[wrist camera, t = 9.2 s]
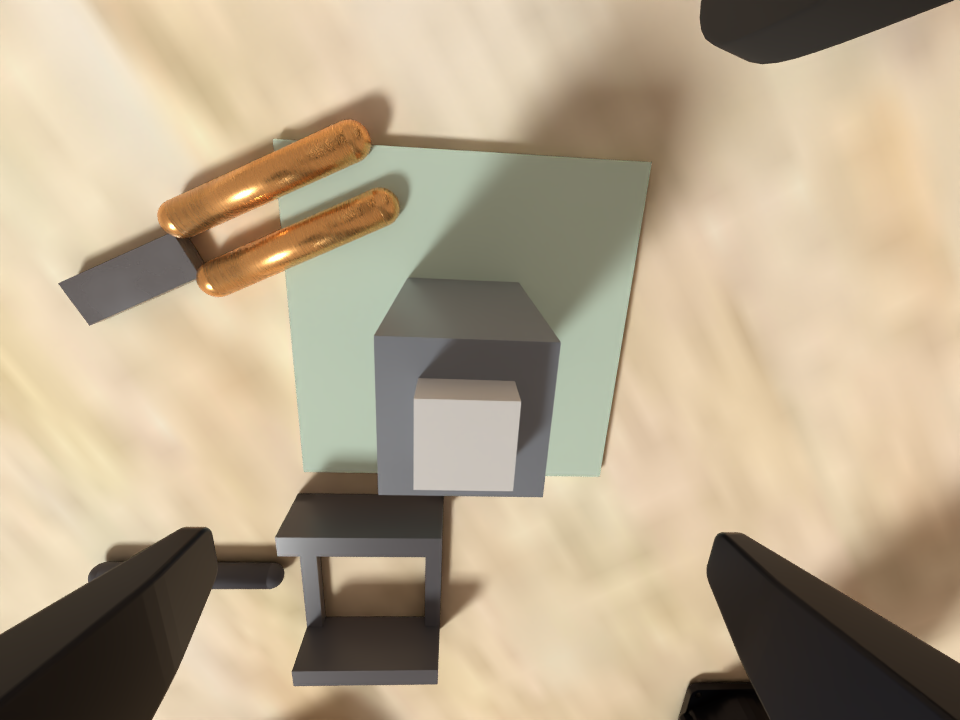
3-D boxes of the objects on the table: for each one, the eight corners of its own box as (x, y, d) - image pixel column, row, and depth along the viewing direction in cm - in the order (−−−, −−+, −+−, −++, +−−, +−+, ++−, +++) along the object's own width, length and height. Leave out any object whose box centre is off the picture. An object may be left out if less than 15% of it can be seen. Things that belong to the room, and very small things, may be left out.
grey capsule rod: (286, 557, 23) (277, 575, 22) (288, 575, 24) (280, 594, 23) (97, 556, 23) (78, 575, 22) (103, 575, 23) (84, 594, 22)
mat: (647, 162, 18) (651, 162, 17) (597, 471, 22) (599, 476, 22) (276, 140, 17) (272, 138, 16) (306, 466, 21) (303, 471, 21)
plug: (518, 282, 19) (572, 359, 10) (510, 383, 20) (550, 526, 11) (407, 277, 18) (364, 352, 10) (407, 380, 20) (370, 525, 11)
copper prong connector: (363, 115, 17) (355, 109, 15) (408, 216, 18) (404, 218, 17) (57, 256, 18) (25, 261, 16) (119, 341, 19) (94, 352, 18)
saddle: (443, 495, 22) (441, 538, 20) (439, 629, 25) (437, 684, 23) (298, 493, 22) (275, 537, 19) (311, 630, 25) (293, 685, 22)
